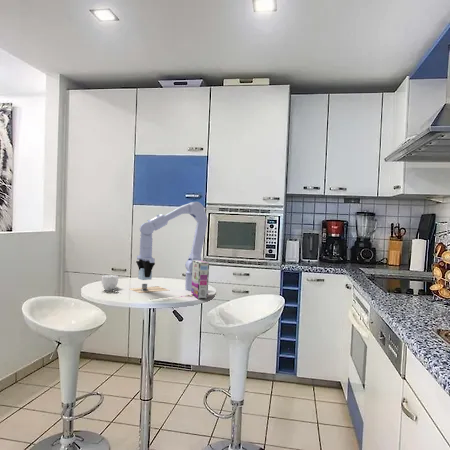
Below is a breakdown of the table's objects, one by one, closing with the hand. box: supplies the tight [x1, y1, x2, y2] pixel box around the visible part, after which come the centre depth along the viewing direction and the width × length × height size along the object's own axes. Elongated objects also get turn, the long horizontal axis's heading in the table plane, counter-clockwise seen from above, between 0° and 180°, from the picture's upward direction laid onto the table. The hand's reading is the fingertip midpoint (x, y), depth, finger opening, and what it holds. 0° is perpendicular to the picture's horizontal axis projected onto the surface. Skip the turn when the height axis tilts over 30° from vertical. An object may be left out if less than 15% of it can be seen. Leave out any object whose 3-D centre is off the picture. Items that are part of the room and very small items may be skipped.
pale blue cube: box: [137, 268, 153, 281], centre depth 186 cm, size 5×5×5 cm
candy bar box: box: [190, 260, 210, 300], centre depth 181 cm, size 11×5×16 cm, turn 21°
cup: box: [101, 274, 119, 292], centre depth 190 cm, size 8×10×7 cm
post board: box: [129, 286, 169, 294], centre depth 189 cm, size 12×16×1 cm
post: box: [141, 283, 148, 291], centre depth 186 cm, size 4×4×3 cm
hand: (144, 276), depth 186 cm, fingers closed on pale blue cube, 5 cm apart
